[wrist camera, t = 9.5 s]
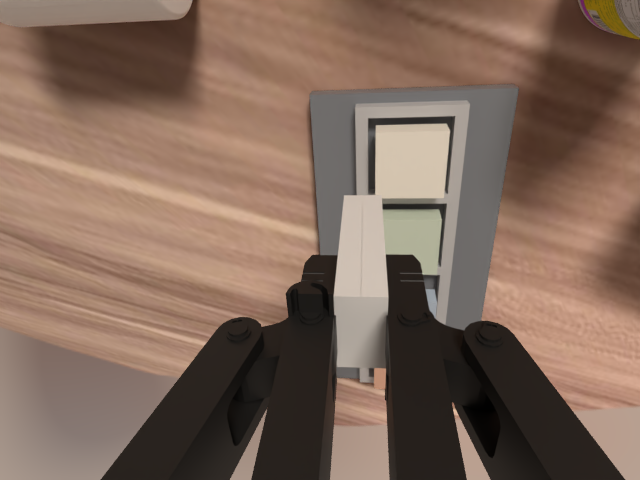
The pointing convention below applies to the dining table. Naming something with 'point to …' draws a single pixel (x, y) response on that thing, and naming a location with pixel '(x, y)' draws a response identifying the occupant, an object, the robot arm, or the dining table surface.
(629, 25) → the supplement bottle
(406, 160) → the key cream
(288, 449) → the robot arm
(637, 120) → the dining table surface
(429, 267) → the key sage
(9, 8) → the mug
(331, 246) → the keypad
